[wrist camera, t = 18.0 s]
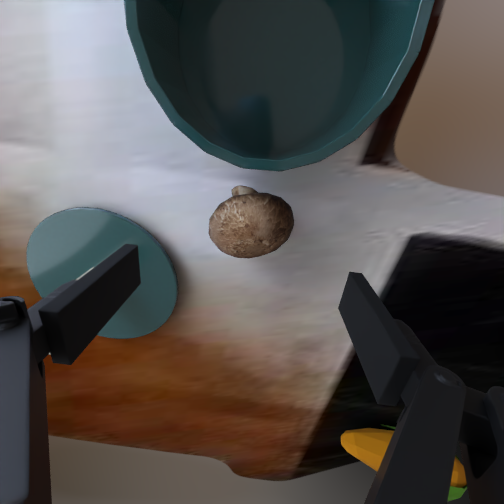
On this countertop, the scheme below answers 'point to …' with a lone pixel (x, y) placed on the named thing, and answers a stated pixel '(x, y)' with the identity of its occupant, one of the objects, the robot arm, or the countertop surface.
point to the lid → (93, 253)
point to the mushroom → (251, 223)
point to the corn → (375, 445)
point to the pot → (275, 71)
